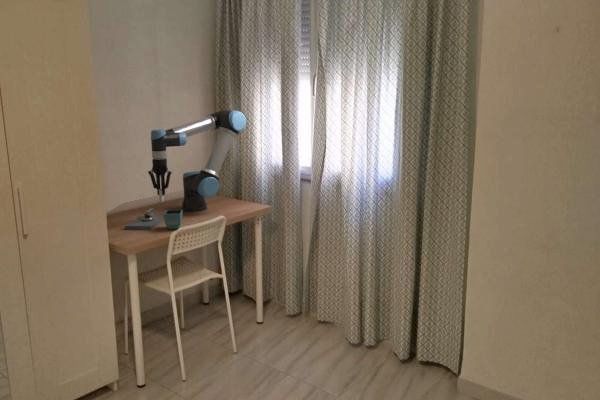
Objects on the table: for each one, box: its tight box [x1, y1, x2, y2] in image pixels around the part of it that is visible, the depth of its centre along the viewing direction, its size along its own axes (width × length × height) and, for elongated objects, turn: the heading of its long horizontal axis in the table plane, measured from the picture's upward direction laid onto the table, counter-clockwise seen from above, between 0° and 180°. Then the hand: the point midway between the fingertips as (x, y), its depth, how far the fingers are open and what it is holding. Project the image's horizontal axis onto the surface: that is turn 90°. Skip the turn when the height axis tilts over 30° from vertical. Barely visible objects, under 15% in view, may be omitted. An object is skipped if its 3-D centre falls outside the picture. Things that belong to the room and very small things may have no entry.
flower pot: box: [163, 209, 183, 230], centre depth 267 cm, size 9×9×9 cm
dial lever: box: [142, 208, 155, 221], centre depth 278 cm, size 12×6×4 cm, turn 177°
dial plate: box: [124, 215, 164, 231], centre depth 274 cm, size 14×20×2 cm
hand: (161, 200), depth 278 cm, fingers closed
